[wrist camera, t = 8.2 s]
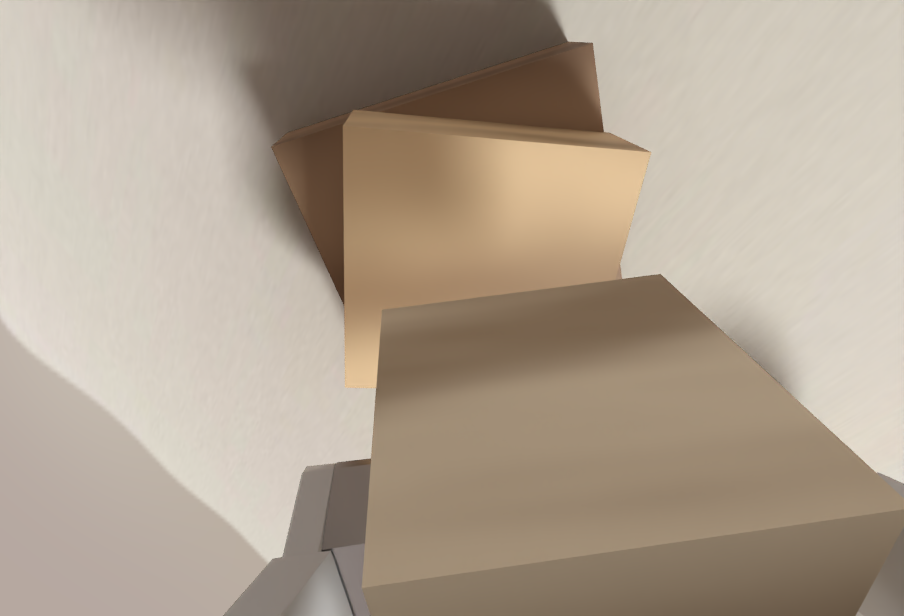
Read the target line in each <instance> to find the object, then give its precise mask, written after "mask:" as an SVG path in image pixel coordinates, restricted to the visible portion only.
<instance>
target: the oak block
mask: <svg viewBox="0 0 904 616" xmlns="http://www.w3.org/2000/svg"><path fill="white" fill-rule="evenodd" d="M650 155H651V152H649V151H647V150H645V149H643V148H641V147H639V146H637V145H635V144H632V143H630V142H628V141H626V140H624V139H622V138H620V137H617V136H615V135H613V134H611V133H606V132H595V131H583V130H572V129H561V128H550V127H539V126H528V125H517V124H505V123H494V122H483V121H472V120H461V119H450V118H439V117H428V116H416V115H405V114H394V113H383V112H373V111H362V110H353V111H352V113H351V114H350V116H349V117H348V119H347V120H346V122H345V123H344V125H343V204H344V318H345V387H347V388H376V384H377V371H378V357H379V343H380V329H381V315H382V310H384V309H391V308H399V307H407V306H415V305H423V304H431V303H438V302H446V301H454V300H462V299H470V298H478V297H485V296H493V295H501V294H509V293H517V292H525V291H532V290H540V289H548V288H556V287H564V286H572V285H579V284H587V283H595V282H603V281H611V280H615V279H616V276H617V272H618V269H619V265H620V262H621V258H622V254H623V251H624V247H625V244H626V240H627V237H628V233H629V230H630V226H631V222H632V219H633V215H634V212H635V208H636V205H637V201H638V197H639V194H640V190H641V187H642V183H643V180H644V176H645V172H646V169H647V165H648V162H649V158H650Z"/></svg>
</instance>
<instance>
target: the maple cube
mask: <svg viewBox="0 0 904 616" xmlns="http://www.w3.org/2000/svg"><path fill="white" fill-rule="evenodd" d="M903 527H904V498H903V497H902V496H901V495H900V494H899V493H897V492H896V491H895V490H894V489H893V488H892V487H891V486H890V485H889V484H888V483H887V482H886V481H884V480H883V479H882V478H881V477H880V476H879V475H878V474H877V473H876V472H875V471H874V470H873V469H871V468H870V467H869V466H868V465H867V464H866V463H865V462H864V461H863V460H862V459H861V458H859V457H858V456H857V455H856V454H855V453H854V452H853V451H852V450H851V449H850V448H849V447H848V446H846V445H845V444H844V443H843V442H842V441H841V440H840V439H839V438H838V437H837V436H836V435H835V434H833V433H832V432H831V431H830V430H829V429H828V428H827V427H826V426H825V425H824V424H823V423H821V422H820V421H819V420H818V419H817V418H816V417H815V416H814V415H813V414H812V413H811V412H810V411H808V410H807V409H806V408H805V407H804V406H803V405H802V404H801V403H800V402H799V401H798V400H797V399H795V398H794V397H793V396H792V395H791V394H790V393H789V392H788V391H787V390H786V389H785V388H783V387H782V386H781V385H780V384H779V383H778V382H777V381H776V380H775V379H774V378H773V377H772V376H770V375H769V374H768V373H767V372H766V371H765V370H764V369H763V368H762V367H761V366H760V365H759V364H757V363H756V362H755V361H754V360H753V359H752V358H751V357H750V356H749V355H748V354H747V353H746V352H744V351H743V350H742V349H741V348H740V347H739V346H738V345H737V344H736V343H735V342H734V341H732V340H731V339H730V338H729V337H728V336H727V335H726V334H725V333H724V332H723V331H722V330H721V329H719V328H718V327H717V326H716V325H715V324H714V323H713V322H712V321H711V320H710V319H709V318H708V317H706V316H705V315H704V314H703V313H702V312H701V311H700V310H699V309H698V308H697V307H696V306H694V305H693V304H692V303H691V302H690V301H689V300H688V299H687V298H686V297H685V296H684V295H683V294H681V293H680V292H679V291H678V290H677V289H676V288H675V287H674V286H673V285H672V284H671V283H670V282H668V281H667V280H666V279H665V278H664V277H663V276H662V275H661V274H658V275H650V276H642V277H634V278H626V279H619V280H611V281H603V282H595V283H587V284H579V285H572V286H564V287H556V288H548V289H540V290H532V291H525V292H517V293H509V294H501V295H493V296H485V297H478V298H470V299H462V300H454V301H446V302H438V303H431V304H423V305H415V306H407V307H399V308H391V309H384V310H382V315H381V329H380V343H379V357H378V371H377V384H376V398H375V412H374V426H373V440H372V454H371V467H370V481H369V495H368V509H367V523H366V537H365V550H364V564H363V578H362V590H363V593H364V596H365V600H366V603H367V606H368V609H369V612H370V616H856V614H857V612H858V610H859V608H860V607H861V605H862V603H863V601H864V599H865V597H866V595H867V594H868V592H869V590H870V588H871V586H872V584H873V583H874V581H875V579H876V577H877V575H878V573H879V572H880V570H881V568H882V566H883V564H884V562H885V560H886V559H887V557H888V555H889V553H890V551H891V549H892V548H893V546H894V544H895V542H896V540H897V538H898V536H899V535H900V533H901V531H902V529H903Z"/></svg>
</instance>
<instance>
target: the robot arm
mask: <svg viewBox="0 0 904 616" xmlns="http://www.w3.org/2000/svg"><path fill="white" fill-rule="evenodd" d="M370 467H371V459H363V460H354V461H346V462H337V463H334V464H324V465H315V466H307V467H306V468H305V470H304V472H303V473H302V475H301V480H300V484H299V488H298V492H297V497H296V501H295V505H294V510H293V514H292V518H291V523H290V527H289V531H288V536H287V540H286V544H285V549H284V553H283V557H280V558H274V559H272V560H271V561H270V562H269V564H268V565H267V566H266V567H265V568H264V570H262V572H261V573H260V574H259V575H258V576H257V577H256V578H255V580H254V581H253V582H252V583H251V584H250V585H249V587H248V588H247V589H246V590H245V591H244V592H243V593H242V595H241V596H240V597H239V598H238V599H237V600H236V601H235V603H234V604H233V605H232V606H231V607H230V608H229V609H228V611H227V612H226V613H225V614H224V615H223V616H370V612H369V609H368V606H367V603H366V600H365V596H364V593H363V590H362V578H363V564H364V550H365V537H366V523H367V509H368V495H369V481H370ZM877 474H878V475H879V476H880V477H881V478H882V479H883V480H884V481H886V482H887V483H888V484H889V485H890V486H891V487H892V488H893V489H894V490H895V491H896V492H897V493H899V494H900V495H901V496H902V497H903V498H904V484H903V483H901V482H899V481H896V480H894V479H892V478H890V477H887V476H885V475H883V474H880V473H877ZM858 612H859V613H861V614H862V615H863V616H904V527H903V529H902V531H901V533H900V535H899V536H898V538H897V540H896V542H895V544H894V546H893V548H892V549H891V551H890V553H889V555H888V557H887V559H886V560H885V562H884V564H883V566H882V568H881V570H880V572H879V573H878V575H877V577H876V579H875V581H874V583H873V584H872V586H871V588H870V590H869V592H868V594H867V595H866V597H865V599H864V601H863V603H862V605H861V607H860V608H859V610H858Z"/></svg>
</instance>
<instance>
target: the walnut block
mask: <svg viewBox="0 0 904 616" xmlns="http://www.w3.org/2000/svg"><path fill="white" fill-rule="evenodd" d="M359 110H362V111H373V112H383V113H394V114H405V115H416V116H428V117H439V118H450V119H461V120H472V121H483V122H494V123H505V124H517V125H528V126H539V127H550V128H561V129H572V130H583V131H595V132H604V130H603V122H602V114H601V106H600V98H599V90H598V82H597V74H596V66H595V58H594V50H593V43H583V42H566V43H563V44H560V45H556V46H553V47H550V48H547V49H544V50H541V51H538V52H535V53H532V54H529V55H526V56H523V57H519V58H516V59H513V60H510V61H507V62H504V63H501V64H498V65H495V66H492V67H489V68H485V69H482V70H479V71H476V72H473V73H470V74H467V75H464V76H461V77H458V78H455V79H452V80H448V81H445V82H442V83H439V84H436V85H433V86H430V87H427V88H424V89H421V90H418V91H415V92H411V93H408V94H405V95H402V96H399V97H396V98H393V99H390V100H387V101H384V102H381V103H378V104H374V105H371V106H368V107H365V108H362V109H359ZM351 113H352V112H350V113H347V114H344V115H341V116H337V117H334V118H331V119H328V120H325V121H322V122H319V123H316V124H313V125H310V126H307V127H303V128H300V129H297V130H294V131H291V132H288V133H287V134H285V135H284V136H283V137H282V138H281V139H280V140H278V141H277V142H276V143H275V144H274V145H273V146H272V147H271V148H272V150H273V152H274V154H275V156H276V158H277V161H278V163H279V165H280V167H281V169H282V172H283V174H284V176H285V178H286V180H287V182H288V185H289V187H290V189H291V191H292V193H293V195H294V198H295V200H296V202H297V204H298V206H299V209H300V211H301V213H302V215H303V217H304V219H305V222H306V224H307V226H308V228H309V230H310V232H311V235H312V237H313V239H314V241H315V243H316V245H317V248H318V250H319V252H320V254H321V256H322V259H323V261H324V263H325V265H326V267H327V269H328V272H329V274H330V276H331V278H332V280H333V282H334V285H335V287H336V289H337V291H338V293H339V295H340V298H341V300H342V302H343V304H344V204H343V125H344V123H345V122H346V120H347V119H348V117H349V116H350V114H351ZM619 279H622V275H621V267H620V265H619V269H618V272H617V276H616V279H615V280H619Z"/></svg>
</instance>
